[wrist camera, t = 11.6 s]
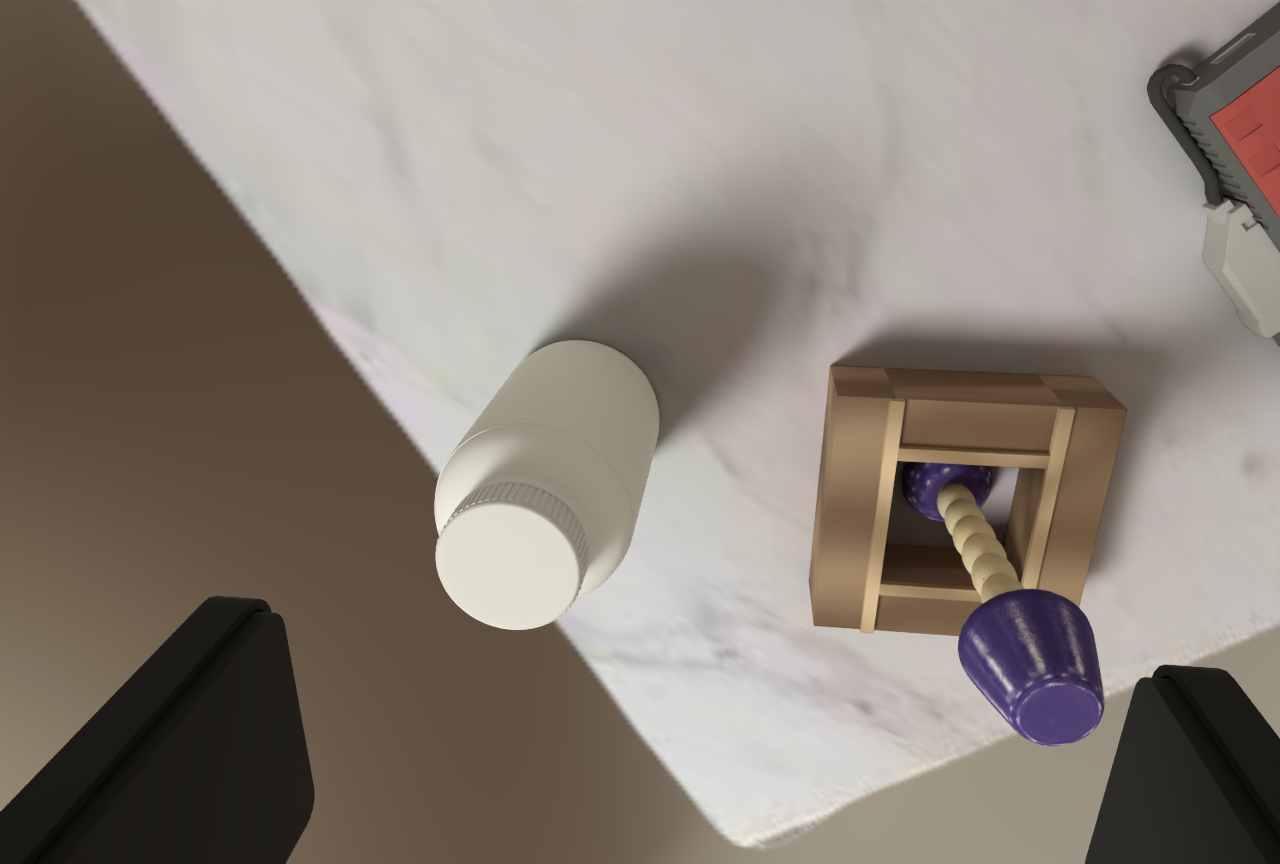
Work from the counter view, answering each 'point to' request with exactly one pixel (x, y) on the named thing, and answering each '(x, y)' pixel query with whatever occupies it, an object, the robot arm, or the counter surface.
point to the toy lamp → (1012, 618)
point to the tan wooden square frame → (955, 434)
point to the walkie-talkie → (1235, 162)
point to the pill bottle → (546, 485)
